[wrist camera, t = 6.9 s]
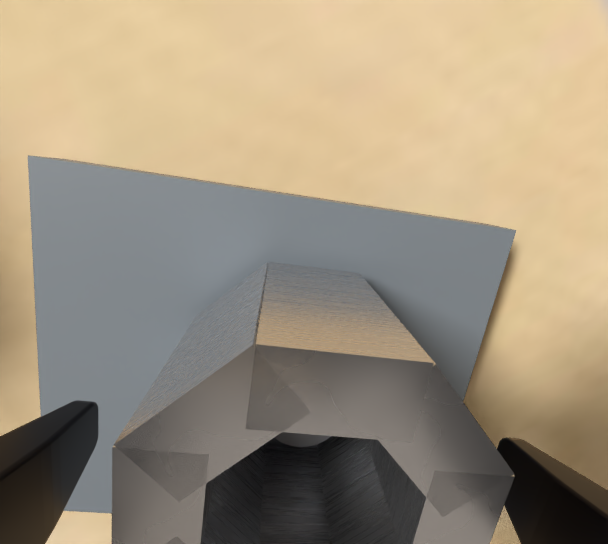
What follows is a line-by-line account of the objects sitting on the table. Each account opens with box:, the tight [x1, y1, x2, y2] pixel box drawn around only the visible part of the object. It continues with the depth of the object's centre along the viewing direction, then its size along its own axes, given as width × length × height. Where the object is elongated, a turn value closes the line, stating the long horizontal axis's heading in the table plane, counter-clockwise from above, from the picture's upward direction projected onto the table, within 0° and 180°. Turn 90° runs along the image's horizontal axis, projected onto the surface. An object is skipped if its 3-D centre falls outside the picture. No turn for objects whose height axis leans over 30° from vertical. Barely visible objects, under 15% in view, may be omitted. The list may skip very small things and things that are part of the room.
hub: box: [112, 261, 515, 544], centre depth 8 cm, size 6×6×5 cm
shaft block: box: [28, 156, 516, 513], centre depth 11 cm, size 12×14×4 cm
